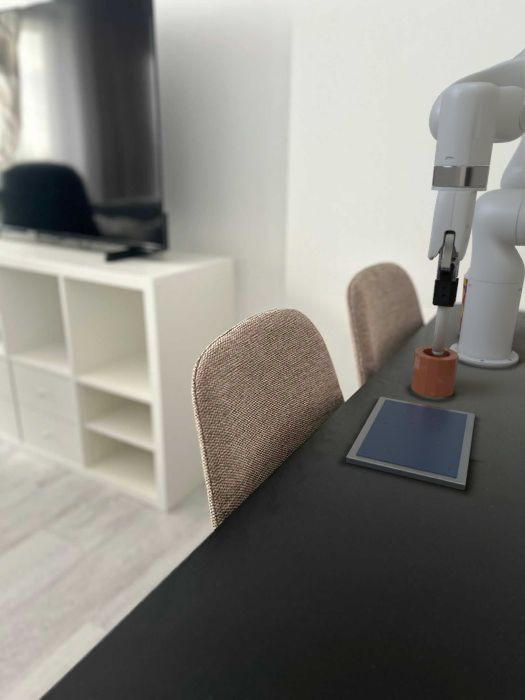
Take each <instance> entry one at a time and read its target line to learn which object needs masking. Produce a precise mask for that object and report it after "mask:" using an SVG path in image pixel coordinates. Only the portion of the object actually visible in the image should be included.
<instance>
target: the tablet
mask: <svg viewBox="0 0 525 700" xmlns="http://www.w3.org/2000/svg"><path fill="white" fill-rule="evenodd" d="M475 417H476V413H473V412H468V411H463V410H457V409H451V408H445V407H439V406H436V405H435V406H434V405H429V404H424V403H418V402H412V401H406V400H401V399H396V398H390V397H385V396H380V397H379V398H378V400H377V402H376V404H375V405H374V407H373V409H372V411H371V412H370V414H369V416H368V418H367V419H366V421H365V423H364V424H363V427H362V428H361V429H360V432H359V434H358V435H357V437H356V439H355V440H354V442H353V444H352V446H351V448H350V449H349V451H348V453H347V455H346V456H345V463H347V464H352V465H354V466H355V465H356V466H359V467H364V468H368V469H372V470H376V471H380V472H384V473H388V474H393V475H397V476H402V477H406V478H410V479H414V480H419V481H423V482H427V483H430V484H435V485H439V486H443V487H448V488H451V489H452V488H453V489H457V490H460V491H465V490H466V484H467V477H468V469H469V463H470V462H469V461H470V454H471V448H472V447H471V446H472V441H473V440H472V439H473V433H474V426H475Z"/></svg>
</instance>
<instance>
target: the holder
mask: <svg viewBox="0 0 525 700" xmlns="http://www.w3.org/2000/svg"><path fill="white" fill-rule="evenodd" d="M432 347H433V345H424V346H419V347H417V348H416V349H415V350H414V355H413V364H412V365H413V366H412V373H411V381H410V383H411V384H410V388H411V390H412V391H413V392H415V393H416V394H418V395H421V396H425V397H430V398H446V397H450V396H452V395H453V394H454V392H455V384H456V377H457V373H458V372H457V371H458V364H459V359H458V358H459V355H458V353H457V352H455V351H453V350H451V349H450V348H447V347H444V353H443V354H442V355H441V356H435V355H434V354H433V352H432Z"/></svg>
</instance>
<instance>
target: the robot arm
mask: <svg viewBox="0 0 525 700" xmlns="http://www.w3.org/2000/svg"><path fill="white" fill-rule="evenodd" d="M428 128H429V133H430V134H431V136H432V137H433V139H434V140H435V141H436V144H435V153H434V161H433V169H432V170H433V171H432V180H431V189H430V190H431V191H437V193H436V194H437V195H436V199H435V205H434V209H433V210H434V211H433V215H432V216H433V218H432V225H431V232H430V238H429V246H428V252H427V258H428V260H429V261H433V260H434V259H435V258H437V256H438V259H437V269H436V277H435V279H434V285H433V293H432V301H431V303H432V305H433V306H436V307H438V306H443V307H450V308H454V306H455V304H456V301H457V298H458V297H457V296H458V289H459V280H460V277H459V271H460V263H461V262H462V261H463V260H464V257H465V256H466V254H467V250H468V247H469V242H470V239H471V254H470V261H469V262H470V264H469V268H470V270H469V277H468V283H467V290H466V297H465V304H464V311H463V318H462V324H461V331H460V330H459V339H458V342H455V343H453V344H451V345H450V347H449V349H451V350H453V351H455V352H457V353H458V355H459V358H458V360H461V361H464V362H467V363H471V364H475V365H481V366H491V367H505V366H511V365H515V364H517V363H519V360H520V359H519V358H520V356H519V354H518V353H517V352H516V351H514V350H513V349H512V347H513V342H514V337H515V331H516V327H517V320H518V316H519V310H520V303H521V299H522V294H523V289H524V288H523V287H524V283H525V263H524V260H523V258H522V256H521V255H520V253H519V251H518V250H517V249H518V248H517V247H525V48H523V49H522V50H521V51H520V52H518V53H517V54H516V55H515V56H514V57H513V58H511V59H507V60H505V61H502V62H500V63H496V64H495V65H492V66H489V67H487V68H485V69H482V70H478V71H475V72H473V73H471V74H467V75H466V76H464V77H462V78H459V79H458V80H456V81H454V82H453V83H451V84H450V85H448V87H446V88H444V90H442V91H441V93H440V94H439V95H438V96H437V98H436V99H435V100H434V102H433V104H432V106H431V109H430V112H429V117H428ZM519 138H520V141H519V143H518V145H517V147H516V149H515V150H514V152H513V154H512V156H511V158H510V159H509V161H508V163H507V165H506V167H505V168H504V171H503V172H502V175H501V178H500V184H499V187H500V188H497V189H491V190H488V183H489V175H490V168H491V161H492V155H493V154H492V153H493V147H494V144H505V143H506V144H507V143H510V142H513V141H516V140H517V139H519ZM487 190H488V191H487ZM478 192H484V193H483V194H481V195H480V196H478V197H477V195H478Z"/></svg>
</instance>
